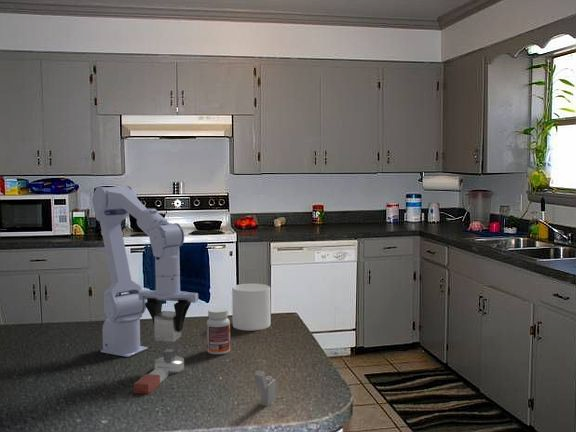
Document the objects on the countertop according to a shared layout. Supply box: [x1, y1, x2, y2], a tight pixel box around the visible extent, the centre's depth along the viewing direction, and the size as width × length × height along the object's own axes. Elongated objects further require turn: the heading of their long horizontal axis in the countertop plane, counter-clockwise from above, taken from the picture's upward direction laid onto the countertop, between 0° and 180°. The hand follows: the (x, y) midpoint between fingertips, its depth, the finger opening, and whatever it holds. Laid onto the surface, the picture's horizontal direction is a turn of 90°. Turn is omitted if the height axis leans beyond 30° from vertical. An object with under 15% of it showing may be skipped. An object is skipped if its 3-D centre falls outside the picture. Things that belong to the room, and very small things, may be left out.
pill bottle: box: [206, 307, 231, 355], centre depth 157 cm, size 6×6×11 cm
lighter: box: [253, 369, 277, 407], centre depth 122 cm, size 7×2×8 cm, turn 157°
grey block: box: [153, 310, 183, 343], centre depth 142 cm, size 5×5×6 cm
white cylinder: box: [231, 283, 272, 332], centre depth 182 cm, size 12×12×12 cm
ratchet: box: [133, 348, 185, 395], centre depth 138 cm, size 19×7×5 cm, turn 168°
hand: (168, 330), depth 143 cm, fingers closed on grey block, 5 cm apart
